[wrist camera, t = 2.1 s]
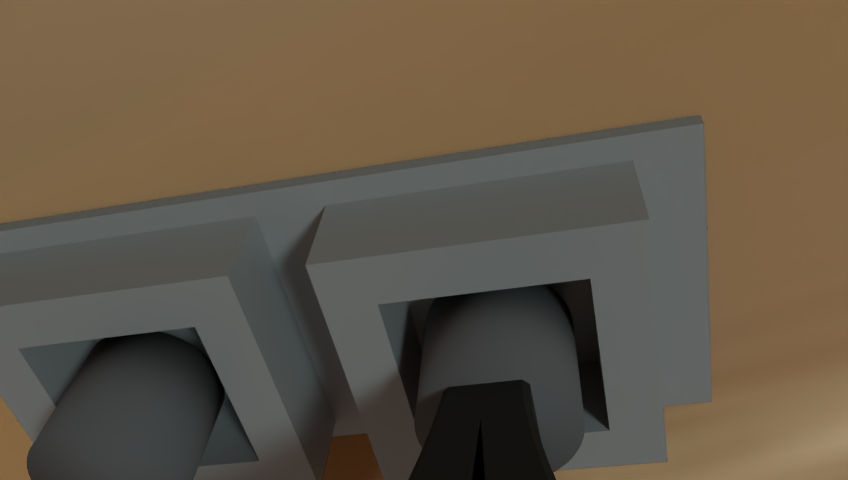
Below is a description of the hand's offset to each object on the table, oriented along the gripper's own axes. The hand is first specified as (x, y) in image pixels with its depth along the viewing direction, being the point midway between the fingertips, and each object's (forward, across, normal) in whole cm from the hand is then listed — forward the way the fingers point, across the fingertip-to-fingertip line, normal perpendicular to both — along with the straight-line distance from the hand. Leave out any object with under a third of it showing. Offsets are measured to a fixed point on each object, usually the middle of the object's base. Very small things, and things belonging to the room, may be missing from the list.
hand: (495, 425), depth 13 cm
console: (+4, +3, 0) cm, 5 cm away
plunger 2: (+2, 0, 0) cm, 2 cm away
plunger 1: (+2, +7, 0) cm, 7 cm away
